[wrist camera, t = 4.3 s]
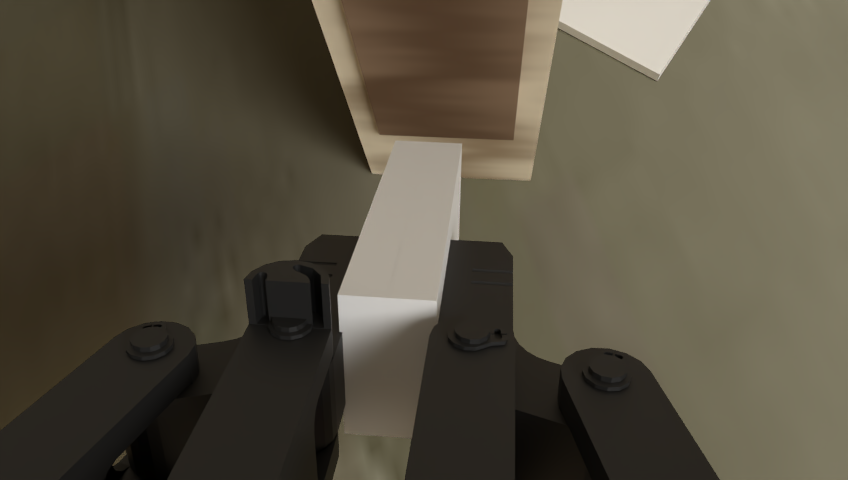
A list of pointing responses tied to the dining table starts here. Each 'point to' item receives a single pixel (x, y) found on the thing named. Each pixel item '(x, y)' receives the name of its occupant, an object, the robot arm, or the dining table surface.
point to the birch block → (445, 76)
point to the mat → (633, 28)
